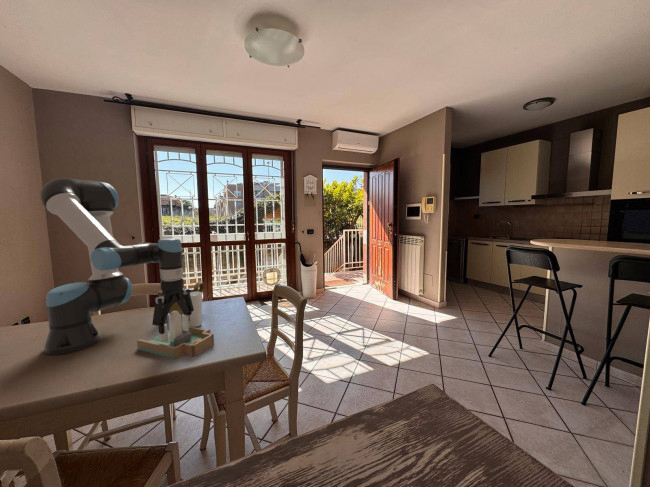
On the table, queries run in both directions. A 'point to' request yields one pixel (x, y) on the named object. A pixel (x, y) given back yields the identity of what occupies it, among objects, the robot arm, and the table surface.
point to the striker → (177, 329)
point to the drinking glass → (196, 309)
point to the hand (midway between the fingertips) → (175, 335)
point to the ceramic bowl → (175, 306)
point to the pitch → (182, 349)
